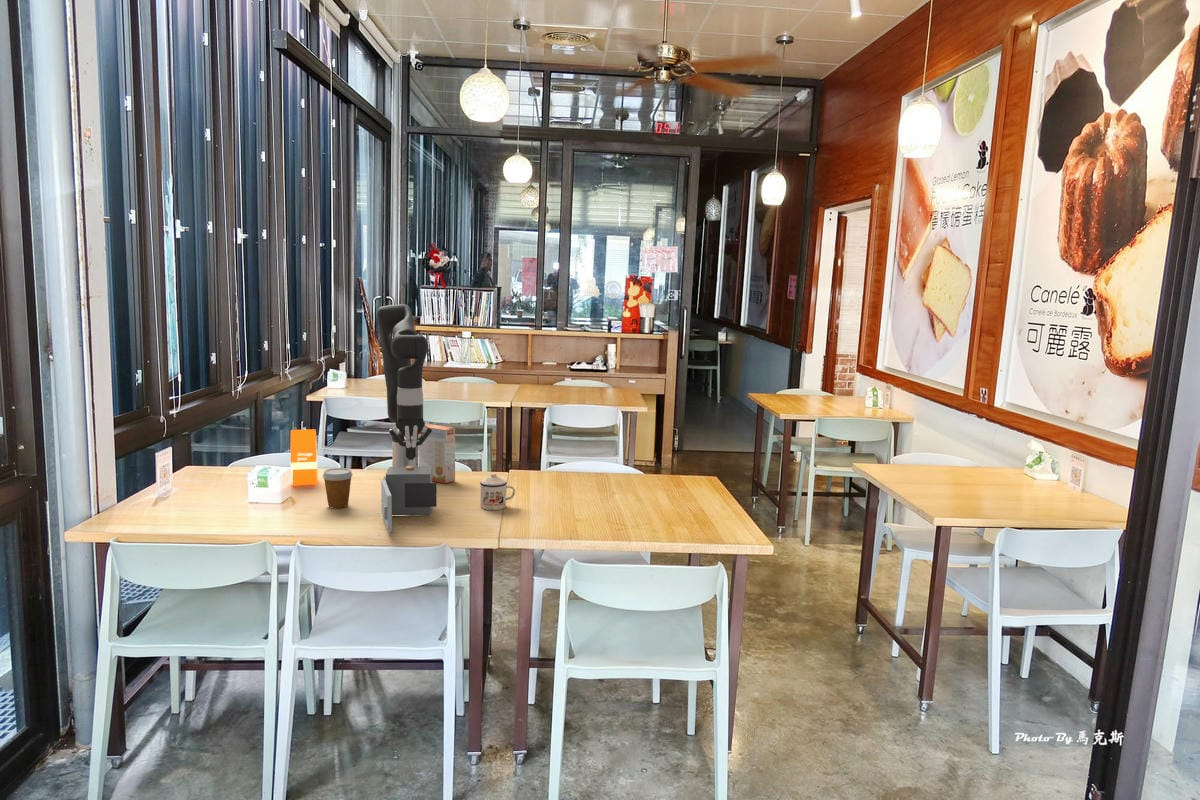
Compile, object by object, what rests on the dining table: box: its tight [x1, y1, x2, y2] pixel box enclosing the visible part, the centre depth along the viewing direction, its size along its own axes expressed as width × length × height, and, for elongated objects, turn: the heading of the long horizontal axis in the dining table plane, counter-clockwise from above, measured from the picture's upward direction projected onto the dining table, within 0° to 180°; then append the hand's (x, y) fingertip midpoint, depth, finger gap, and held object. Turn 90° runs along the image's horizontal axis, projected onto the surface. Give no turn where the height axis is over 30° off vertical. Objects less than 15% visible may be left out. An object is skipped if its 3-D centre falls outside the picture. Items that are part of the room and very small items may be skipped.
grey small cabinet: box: [383, 466, 438, 517], centre depth 259 cm, size 10×17×15 cm, turn 99°
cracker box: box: [418, 423, 456, 484], centre depth 299 cm, size 14×6×21 cm, turn 58°
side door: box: [380, 478, 393, 533], centre depth 243 cm, size 2×20×11 cm, turn 20°
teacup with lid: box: [479, 472, 516, 511], centre depth 268 cm, size 12×9×12 cm
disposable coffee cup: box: [322, 467, 353, 509], centre depth 263 cm, size 10×10×12 cm
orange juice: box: [290, 428, 319, 487], centre depth 290 cm, size 8×9×20 cm
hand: (410, 459), depth 235 cm, fingers closed
